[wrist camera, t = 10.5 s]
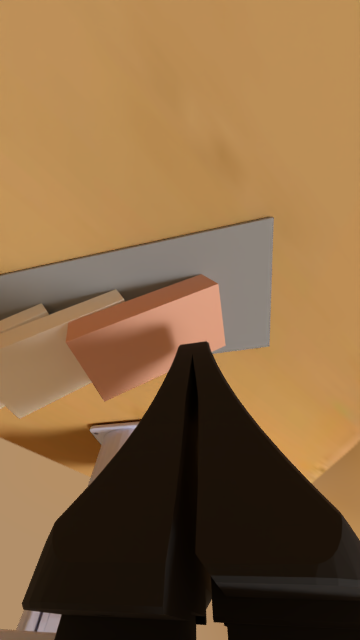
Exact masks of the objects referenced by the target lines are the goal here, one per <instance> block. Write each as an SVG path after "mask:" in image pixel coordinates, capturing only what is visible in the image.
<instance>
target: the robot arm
mask: <svg viewBox="0 0 360 640" xmlns="http://www.w3.org/2000/svg"><path fill="white" fill-rule="evenodd" d="M90 432H91V433H92V434H93V435H94V437H95V438H96V439H97V440H98V442H99V443H100V444H101V448H100V451H99V454H98V457H97V460H96V463H95V466H94V469H93V472H92V475H91V478H90V481H89V485H88V487H87V488H86V489H85V491H84V492H83V493H82V494H81V495H80V496H79V497H78V498H77V499H76V500H75V501H74V502H73V503H72V505H71V506H70V507H69V508H68V509H67V510H66V511H65V512H64V513H63V514H62V515H61V516H60V517H59V518H58V519H57V521H56V522H55V523H54V526H53V528H52V530H51V532H50V535H49V536H48V539H47V541H46V543H45V546H44V548H43V551H42V554H41V556H40V559H39V561H38V564H37V566H36V569H35V571H34V574H33V576H32V579H31V582H30V584H29V587H28V589H27V592H26V594H25V597H24V600H23V602H22V606H23V609H24V611H23V614H22V616H21V619H20V622H19V624H18V627H17V630H5V629H0V640H196V624H200V625H206V608H207V607H208V605H209V603H210V601H211V599H212V606H213V620H214V622H221V623H224V625H225V626H227V628H228V640H360V540H359V539H358V537H357V536H356V534H355V533H354V531H353V530H352V528H351V527H350V525H349V524H348V522H347V521H346V520H345V518H344V517H343V515H342V514H341V513H340V512H339V511H338V510H337V509H336V508H335V507H334V506H333V505H332V504H331V503H330V502H329V501H328V500H327V499H326V498H325V497H324V496H323V495H322V494H321V493H320V492H319V491H318V490H317V489H316V488H315V487H314V486H313V485H312V484H311V483H310V482H309V481H308V480H307V479H306V478H305V477H304V476H303V475H302V473H301V472H300V471H299V470H298V469H297V468H296V467H295V466H294V465H293V464H292V463H291V462H290V461H289V460H288V459H287V458H286V456H285V455H284V454H283V453H282V452H281V451H280V450H279V449H278V447H277V446H276V445H275V444H274V443H273V442H272V441H271V439H270V438H269V437H268V436H267V435H266V434H265V433H264V431H263V430H262V429H261V428H260V427H259V425H258V424H257V423H256V422H255V420H254V419H253V418H252V417H251V415H250V414H249V413H248V412H247V410H246V409H245V408H244V406H243V405H242V403H241V402H240V401H239V399H238V398H237V396H236V395H235V394H234V392H233V390H232V389H231V387H230V386H229V384H228V383H227V381H226V379H225V378H224V376H223V374H222V372H221V371H220V369H219V367H218V365H217V363H216V361H215V359H214V357H213V355H212V352H211V349H210V346H209V343H208V342H207V341H204V342H197V343H189V344H182V345H180V346H179V347H178V350H177V352H176V355H175V358H174V360H173V362H172V365H171V367H170V369H169V371H168V373H167V375H166V378H165V380H164V382H163V384H162V386H161V387H160V389H159V391H158V393H157V395H156V396H155V398H154V400H153V402H152V403H151V405H150V407H149V408H148V410H147V411H146V413H145V415H144V416H143V418H142V419H141V421H139V422H128V423H117V424H105V425H94V426H91V428H90Z"/></svg>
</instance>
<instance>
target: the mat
mask: <svg viewBox="0 0 360 640" xmlns="http://www.w3.org/2000/svg"><path fill="white" fill-rule="evenodd" d="M273 221H274V218H273V217H267V218H262V219H257V220H253V221H248V222H243V223H239V224H234V225H229V226H225V227H220V228H215V229H211V230H206V231H201V232H197V233H192V234H187V235H183V236H178V237H173V238H169V239H164V240H159V241H155V242H150V243H145V244H141V245H136V246H131V247H127V248H122V249H117V250H113V251H108V252H103V253H99V254H94V255H89V256H85V257H80V258H75V259H71V260H66V261H61V262H57V263H52V264H47V265H43V266H38V267H33V268H29V269H24V270H19V271H15V272H10V273H5V274H1V275H0V321H1V320H3V319H5V318H8V317H10V316H12V315H15V314H17V313H19V312H22V311H24V310H27V309H29V308H31V307H34V306H36V305H38V304H41V303H42V304H43V306H44V307H45V309H46V310H47V312H48V313H49V315H50V314H53V313H55V312H58V311H61V310H63V309H66V308H68V307H71V306H74V305H76V304H79V303H81V302H84V301H87V300H89V299H92V298H95V297H97V296H100V295H102V294H105V293H108V292H110V291H113V290H115V289H117V291H118V292H119V293H120V295H121V296H122V297H123V298H124V300H125V302H126V301H128V300H131V299H134V298H137V297H139V296H142V295H145V294H148V293H150V292H153V291H156V290H159V289H161V288H164V287H167V286H170V285H172V284H175V283H178V282H181V281H183V280H186V279H189V278H192V277H194V276H197V275H200V274H202V275H204V276H206V277H207V278H209V279H211V280H213V281H215V282H216V283H218V284H219V293H220V301H221V310H222V319H223V327H224V336H225V344H226V346H224V347H222V348H219V349H217V350H215V351H213V352H212V354H214V353H222V352H229V351H237V350H245V349H252V348H260V347H268V346H269V341H270V311H271V281H272V251H273Z"/></svg>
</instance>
